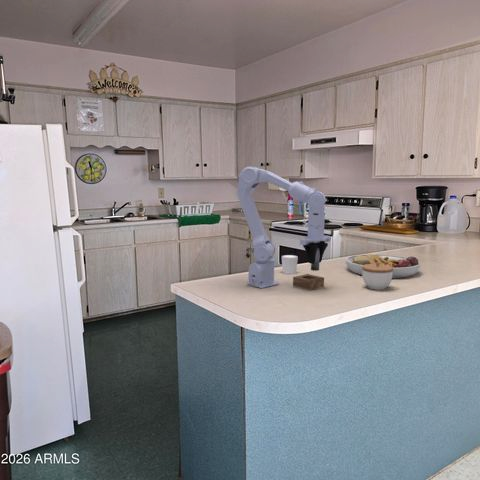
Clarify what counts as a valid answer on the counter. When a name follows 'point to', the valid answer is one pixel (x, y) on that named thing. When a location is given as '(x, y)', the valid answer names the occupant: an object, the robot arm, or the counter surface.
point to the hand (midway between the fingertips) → (314, 262)
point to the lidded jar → (377, 275)
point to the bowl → (399, 264)
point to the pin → (316, 261)
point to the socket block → (308, 282)
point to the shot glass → (289, 264)
